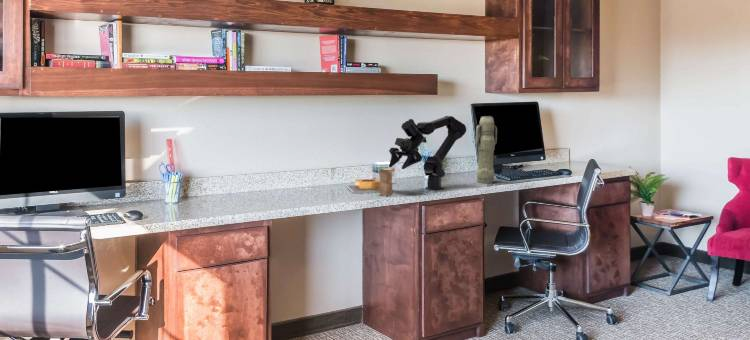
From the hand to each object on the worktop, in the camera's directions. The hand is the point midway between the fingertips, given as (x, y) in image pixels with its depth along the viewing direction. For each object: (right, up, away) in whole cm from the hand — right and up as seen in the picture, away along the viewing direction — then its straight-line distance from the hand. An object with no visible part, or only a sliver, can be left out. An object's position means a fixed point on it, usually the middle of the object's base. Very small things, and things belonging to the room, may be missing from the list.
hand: (395, 167), depth 331 cm
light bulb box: (-5, -8, +37) cm, 38 cm away
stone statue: (+49, -8, +41) cm, 64 cm away
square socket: (-13, -11, +12) cm, 20 cm away
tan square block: (-5, -13, -2) cm, 14 cm away
